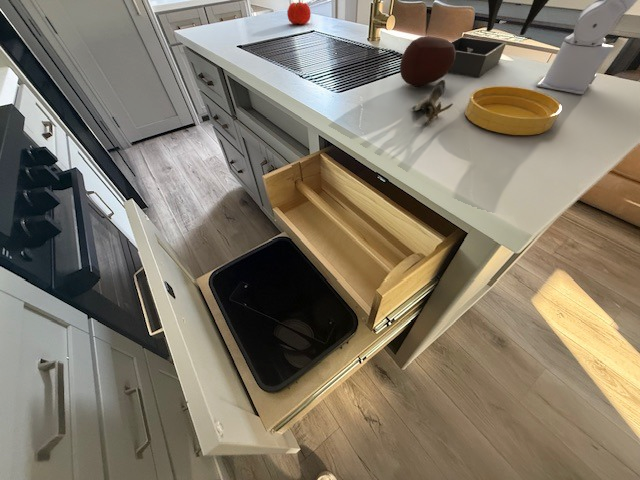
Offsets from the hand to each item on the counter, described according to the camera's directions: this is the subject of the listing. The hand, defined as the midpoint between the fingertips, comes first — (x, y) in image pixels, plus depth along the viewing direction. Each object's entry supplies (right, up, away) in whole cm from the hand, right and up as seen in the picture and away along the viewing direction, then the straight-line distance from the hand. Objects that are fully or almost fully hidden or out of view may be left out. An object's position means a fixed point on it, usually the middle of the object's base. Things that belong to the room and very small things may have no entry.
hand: (505, 32), depth 66 cm
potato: (-19, -11, +4) cm, 22 cm away
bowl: (-7, -26, -10) cm, 28 cm away
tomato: (-55, +52, +62) cm, 98 cm away
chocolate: (-3, 0, +12) cm, 13 cm away
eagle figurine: (-22, -25, -8) cm, 34 cm away
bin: (-3, 0, +13) cm, 13 cm away
